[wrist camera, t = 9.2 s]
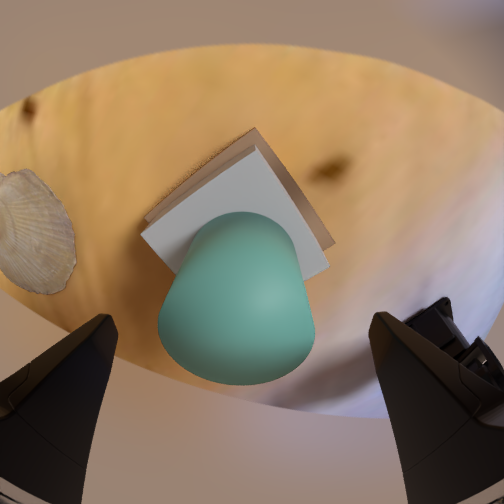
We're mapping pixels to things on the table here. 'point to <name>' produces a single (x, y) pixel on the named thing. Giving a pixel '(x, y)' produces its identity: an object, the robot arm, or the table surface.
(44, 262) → the seashell
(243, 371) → the teal cylinder
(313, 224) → the walnut base
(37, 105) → the table surface
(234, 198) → the grey block
